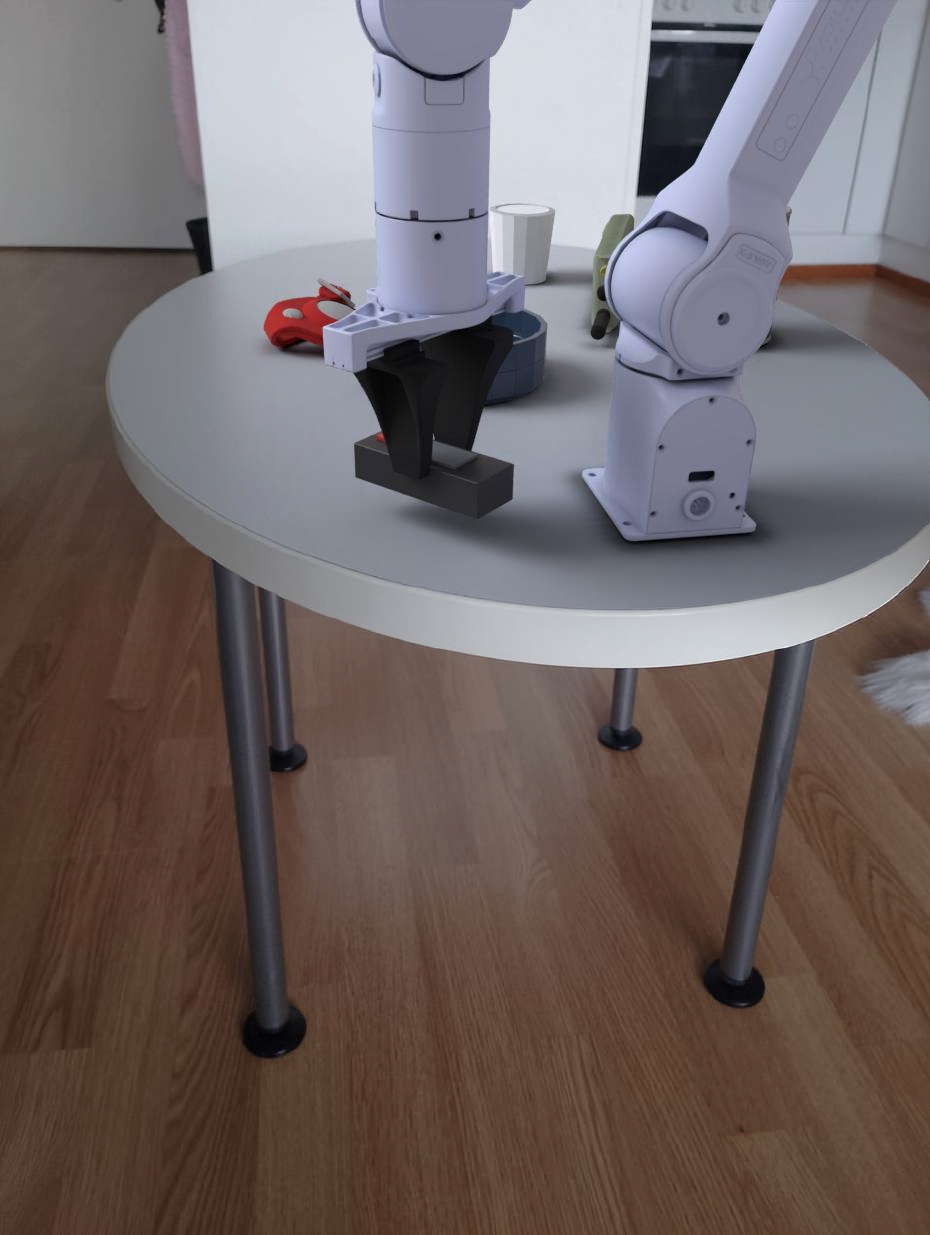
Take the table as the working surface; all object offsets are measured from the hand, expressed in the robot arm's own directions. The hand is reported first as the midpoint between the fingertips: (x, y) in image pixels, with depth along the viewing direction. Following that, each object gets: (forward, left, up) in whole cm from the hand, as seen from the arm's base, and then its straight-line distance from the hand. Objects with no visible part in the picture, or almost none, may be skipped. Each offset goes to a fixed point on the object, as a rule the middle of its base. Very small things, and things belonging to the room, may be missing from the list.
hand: (432, 462), depth 60 cm
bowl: (+25, -6, -4) cm, 26 cm away
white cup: (+56, -18, -4) cm, 59 cm away
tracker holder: (+37, +3, -4) cm, 38 cm away
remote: (0, 0, -2) cm, 2 cm away
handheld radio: (+43, -24, -4) cm, 50 cm away
